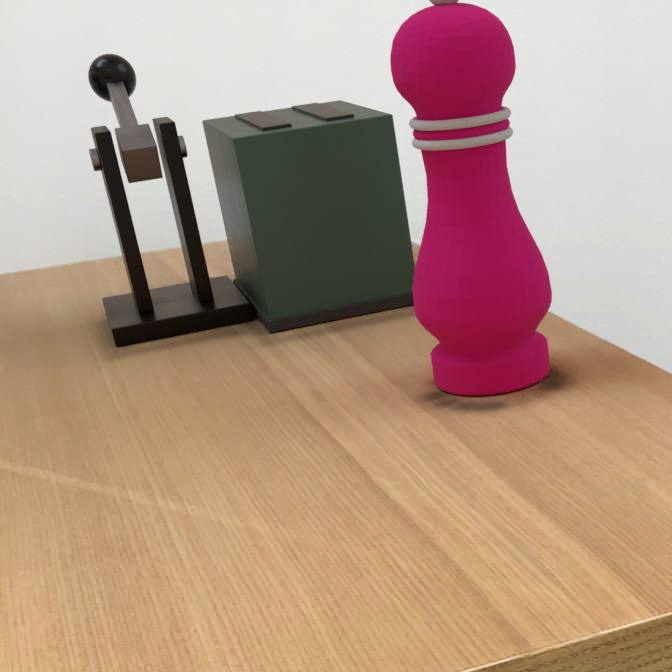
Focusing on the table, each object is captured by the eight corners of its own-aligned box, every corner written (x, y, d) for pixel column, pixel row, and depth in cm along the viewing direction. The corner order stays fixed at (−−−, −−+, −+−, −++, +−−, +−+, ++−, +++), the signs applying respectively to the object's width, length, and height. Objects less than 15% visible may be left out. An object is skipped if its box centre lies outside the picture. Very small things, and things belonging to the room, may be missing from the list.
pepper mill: (398, 391, 65) (331, -21, 56) (479, 350, 70) (430, -33, 62) (507, 406, 61) (453, -34, 52) (585, 362, 66) (548, -46, 58)
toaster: (234, 289, 91) (197, 117, 85) (370, 264, 94) (342, 96, 88) (269, 333, 78) (229, 135, 73) (424, 302, 81) (396, 110, 76)
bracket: (105, 314, 88) (57, 128, 82) (231, 290, 90) (192, 109, 85) (116, 347, 79) (62, 142, 74) (254, 320, 82) (212, 120, 76)
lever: (90, 91, 88) (80, 48, 85) (135, 85, 89) (127, 42, 86) (122, 190, 80) (112, 146, 78) (171, 182, 81) (163, 138, 79)
